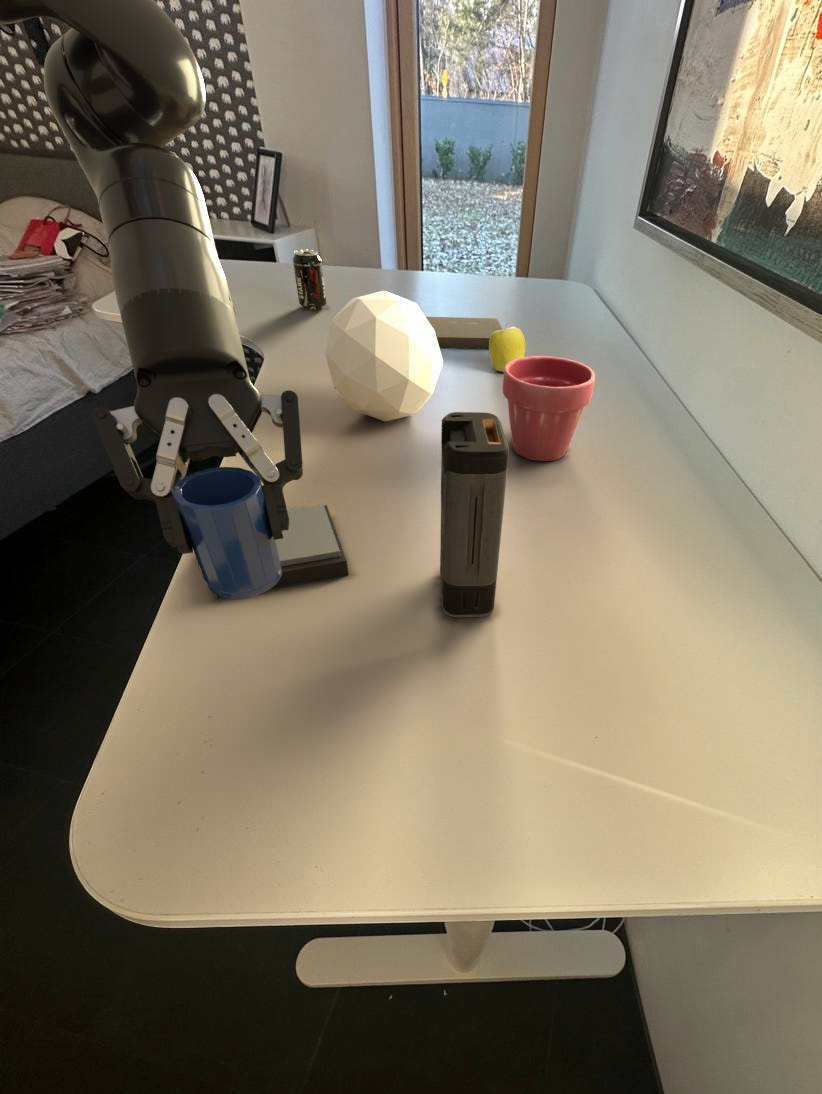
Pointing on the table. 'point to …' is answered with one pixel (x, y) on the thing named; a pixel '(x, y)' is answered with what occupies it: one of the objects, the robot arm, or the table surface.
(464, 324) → the hardcover book
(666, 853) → the table surface
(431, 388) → the geometric sculpture
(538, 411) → the flower pot
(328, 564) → the kitchen scale
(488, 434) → the electronic device
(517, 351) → the apple
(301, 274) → the beverage can
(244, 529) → the cup
